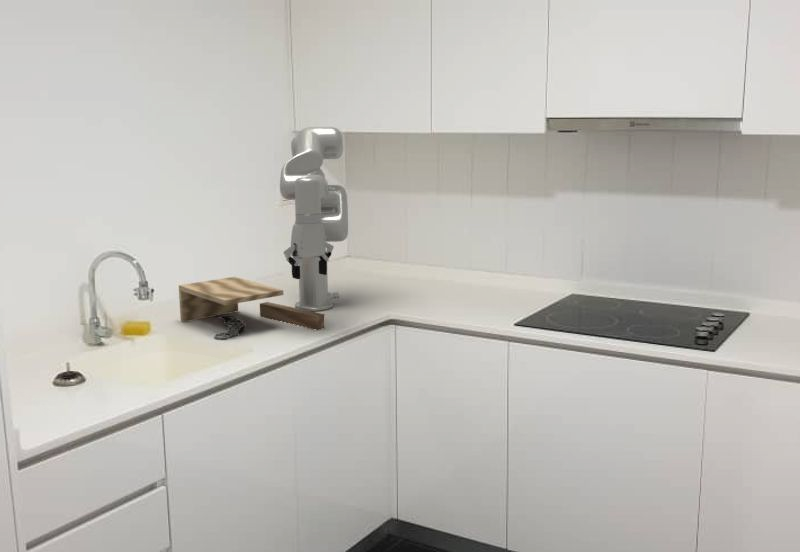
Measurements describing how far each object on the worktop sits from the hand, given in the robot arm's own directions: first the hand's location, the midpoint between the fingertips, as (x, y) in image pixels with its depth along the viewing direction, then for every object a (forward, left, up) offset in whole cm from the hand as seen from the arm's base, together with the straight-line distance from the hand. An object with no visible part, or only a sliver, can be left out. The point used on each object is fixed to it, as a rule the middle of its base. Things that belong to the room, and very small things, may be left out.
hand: (309, 276), depth 247 cm
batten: (0, -11, -17) cm, 20 cm away
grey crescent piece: (+17, -18, -17) cm, 30 cm away
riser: (+15, -21, -16) cm, 30 cm away
